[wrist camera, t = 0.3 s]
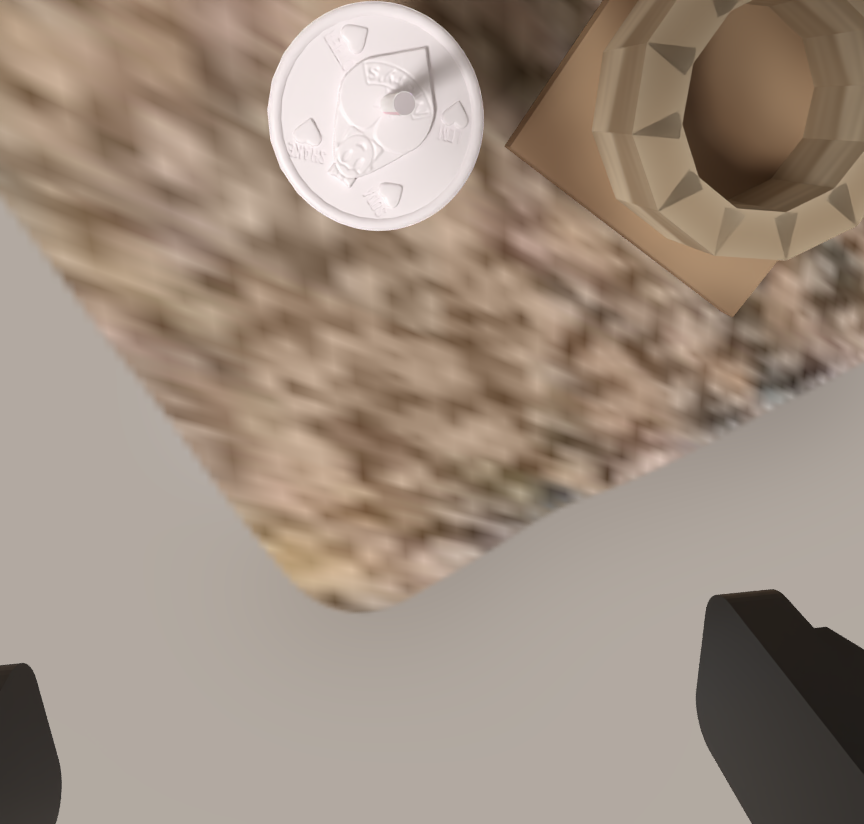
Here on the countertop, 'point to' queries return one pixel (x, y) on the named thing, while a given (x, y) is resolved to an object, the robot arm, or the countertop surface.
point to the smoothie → (375, 115)
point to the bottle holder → (710, 132)
